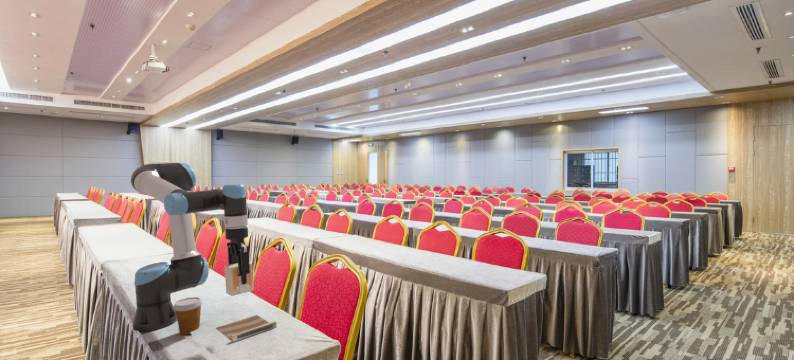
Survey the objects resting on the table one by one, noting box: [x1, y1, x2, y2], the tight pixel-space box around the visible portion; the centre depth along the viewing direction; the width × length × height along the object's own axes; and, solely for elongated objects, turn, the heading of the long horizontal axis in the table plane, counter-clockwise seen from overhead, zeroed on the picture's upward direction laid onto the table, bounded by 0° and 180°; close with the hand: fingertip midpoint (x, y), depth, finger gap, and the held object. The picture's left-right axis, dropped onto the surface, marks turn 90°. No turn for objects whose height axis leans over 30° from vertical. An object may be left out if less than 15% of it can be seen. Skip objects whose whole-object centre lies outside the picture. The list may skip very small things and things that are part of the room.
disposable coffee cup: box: [173, 296, 203, 337], centre depth 146 cm, size 10×10×12 cm
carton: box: [224, 261, 255, 297], centre depth 140 cm, size 8×5×10 cm, turn 135°
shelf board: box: [215, 314, 278, 343], centre depth 145 cm, size 17×16×4 cm
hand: (240, 290), depth 141 cm, fingers closed on carton, 5 cm apart
